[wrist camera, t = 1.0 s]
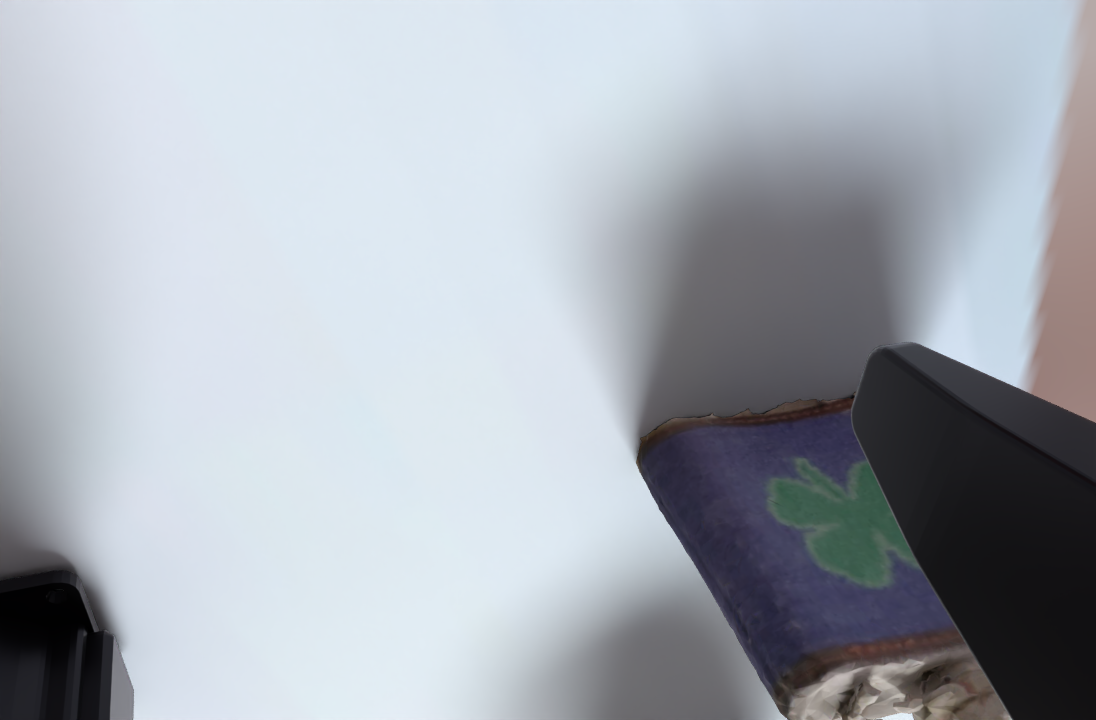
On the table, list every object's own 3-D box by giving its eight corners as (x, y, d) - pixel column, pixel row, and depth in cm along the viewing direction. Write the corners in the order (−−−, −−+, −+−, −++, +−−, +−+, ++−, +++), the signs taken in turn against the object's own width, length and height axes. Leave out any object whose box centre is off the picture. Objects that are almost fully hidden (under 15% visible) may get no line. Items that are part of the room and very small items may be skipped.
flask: (913, 381, 30) (1188, 662, 22) (886, 452, 32) (1132, 737, 24) (638, 417, 28) (836, 752, 19) (624, 493, 29) (801, 831, 21)
